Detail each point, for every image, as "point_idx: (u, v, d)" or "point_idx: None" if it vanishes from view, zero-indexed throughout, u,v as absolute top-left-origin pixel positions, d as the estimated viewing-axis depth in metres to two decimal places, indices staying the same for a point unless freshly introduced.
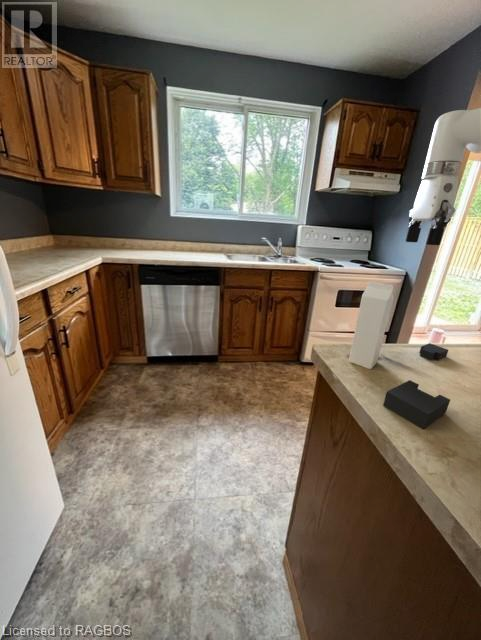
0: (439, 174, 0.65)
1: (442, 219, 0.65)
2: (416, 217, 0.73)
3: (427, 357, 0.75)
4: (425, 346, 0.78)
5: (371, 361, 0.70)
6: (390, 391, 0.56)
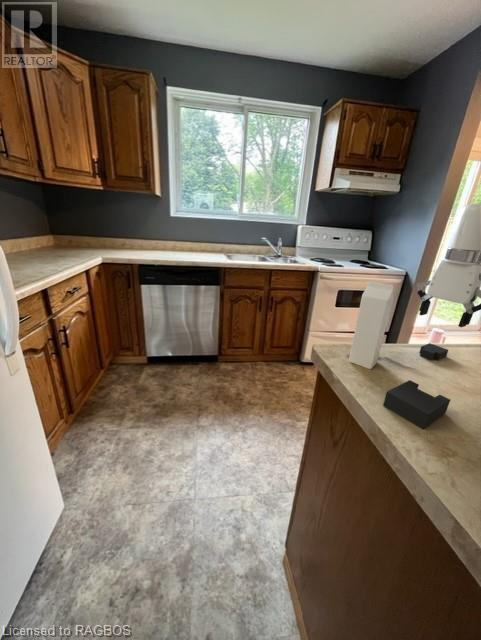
0: (474, 263, 0.65)
1: None
2: (438, 296, 0.72)
3: (427, 357, 0.75)
4: (425, 346, 0.78)
5: (371, 361, 0.70)
6: (390, 391, 0.56)
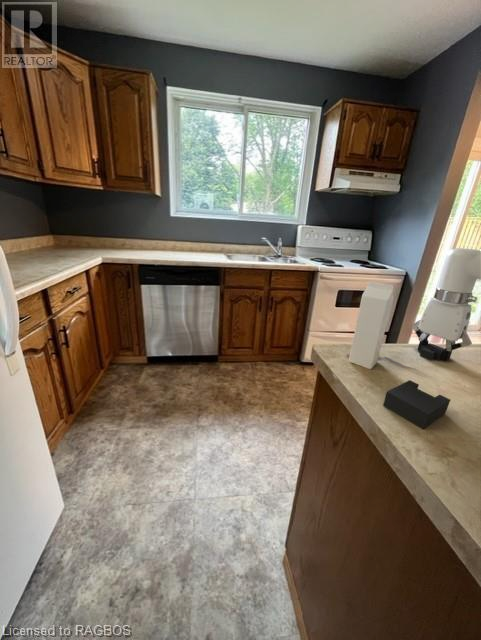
0: (461, 304, 0.69)
1: (458, 346, 0.71)
2: (429, 332, 0.76)
3: (427, 357, 0.75)
4: (425, 346, 0.78)
5: (371, 361, 0.70)
6: (390, 391, 0.56)
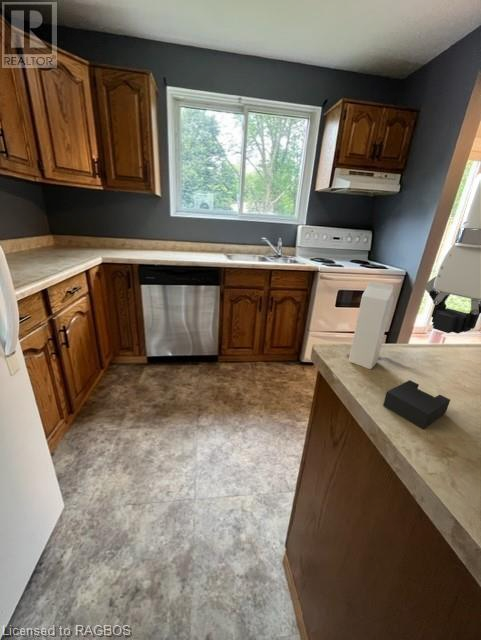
0: None
1: None
2: (448, 291, 0.57)
3: (445, 323, 0.56)
4: (442, 311, 0.59)
5: (371, 361, 0.70)
6: (390, 391, 0.56)
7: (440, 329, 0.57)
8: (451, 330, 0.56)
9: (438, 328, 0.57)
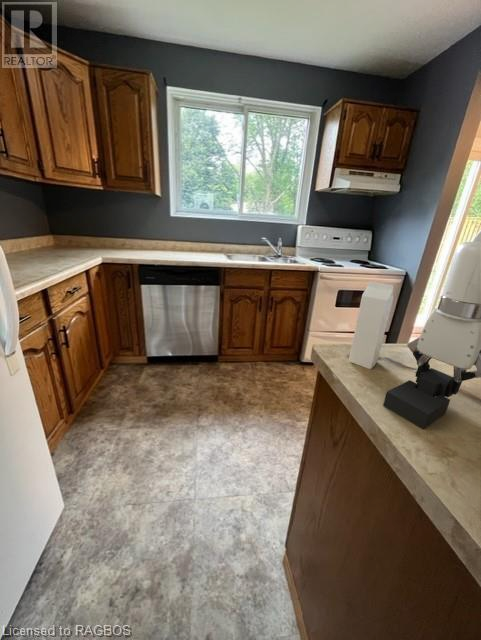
0: (476, 319, 0.49)
1: (471, 376, 0.52)
2: (431, 355, 0.56)
3: (428, 389, 0.56)
4: (425, 373, 0.58)
5: (371, 361, 0.70)
6: (390, 391, 0.56)
7: None
8: (434, 395, 0.56)
9: None
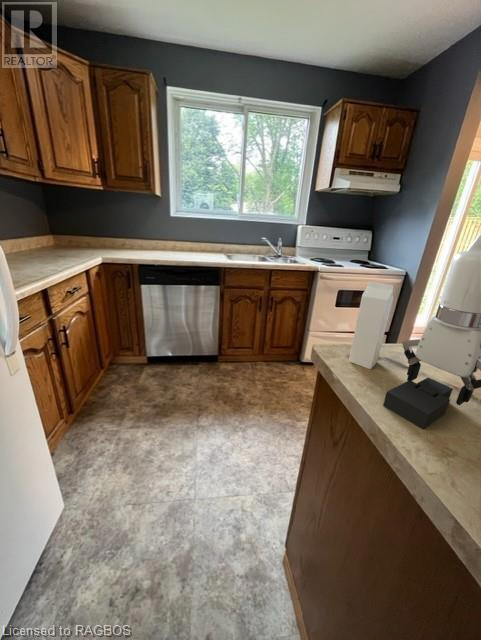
0: (473, 328, 0.50)
1: None
2: (429, 362, 0.57)
3: None
4: (422, 383, 0.59)
5: (371, 361, 0.70)
6: (390, 391, 0.56)
7: None
8: None
9: None
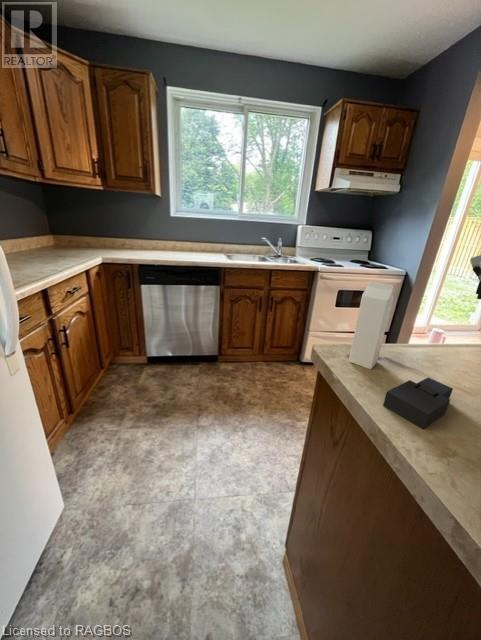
0: None
1: None
2: None
3: None
4: (422, 383, 0.59)
5: (371, 361, 0.70)
6: (390, 391, 0.56)
7: None
8: None
9: None
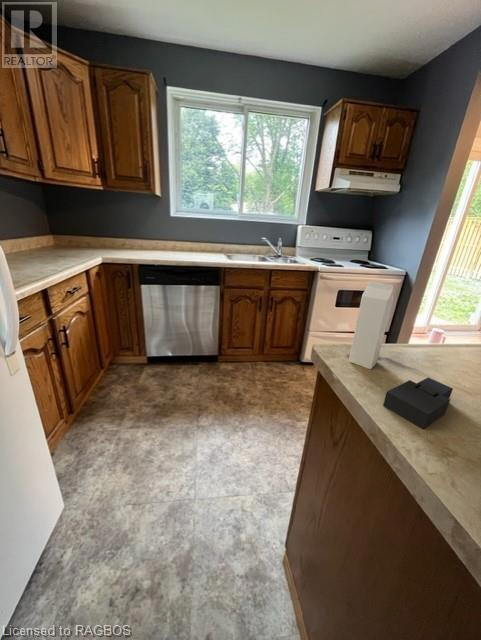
0: None
1: None
2: None
3: None
4: (422, 383, 0.59)
5: (371, 361, 0.70)
6: (390, 391, 0.56)
7: None
8: None
9: None
